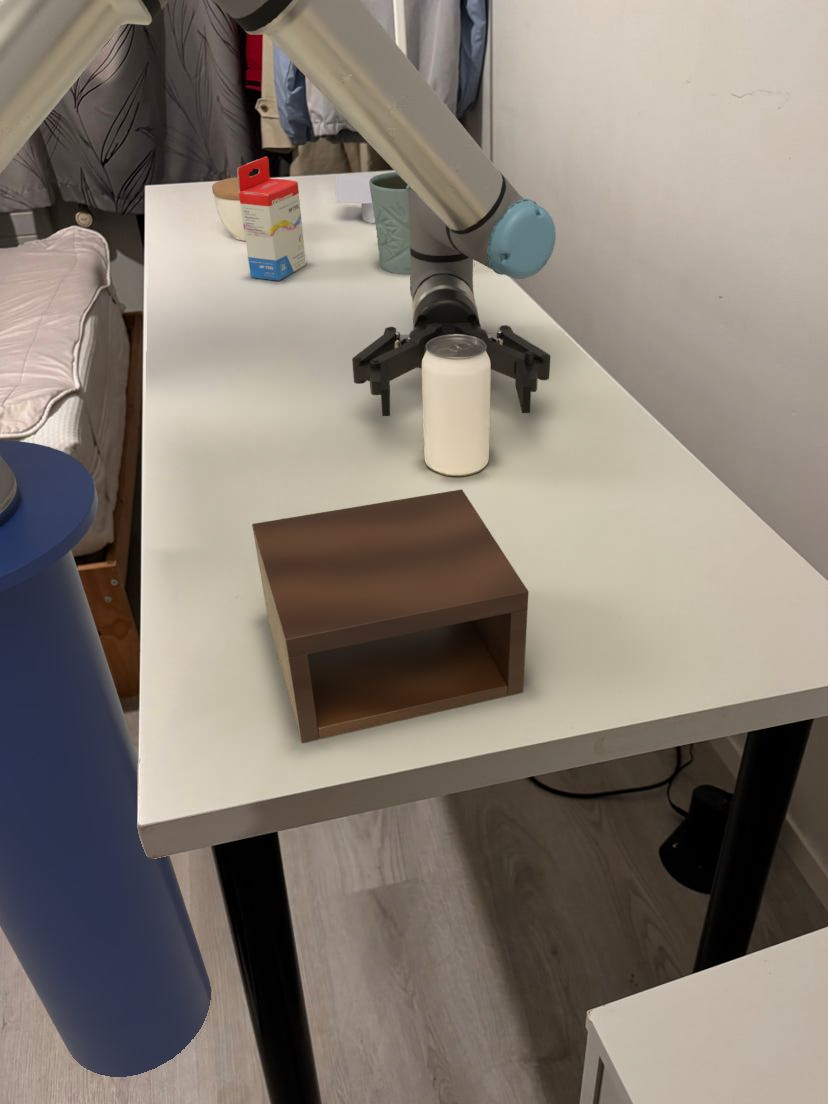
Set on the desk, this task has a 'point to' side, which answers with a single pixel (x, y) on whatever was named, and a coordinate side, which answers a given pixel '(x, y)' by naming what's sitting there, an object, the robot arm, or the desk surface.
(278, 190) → the ink box
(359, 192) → the wedge on round base
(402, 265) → the green embossed cup
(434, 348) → the can
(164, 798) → the desk surface
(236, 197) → the trinket box
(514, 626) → the shelf
